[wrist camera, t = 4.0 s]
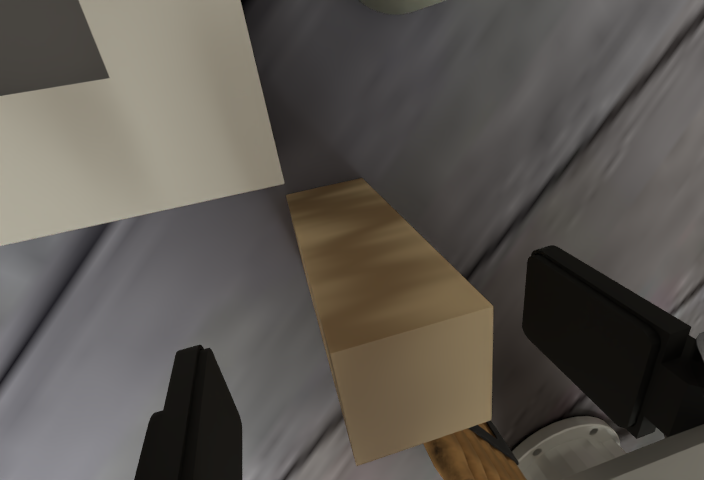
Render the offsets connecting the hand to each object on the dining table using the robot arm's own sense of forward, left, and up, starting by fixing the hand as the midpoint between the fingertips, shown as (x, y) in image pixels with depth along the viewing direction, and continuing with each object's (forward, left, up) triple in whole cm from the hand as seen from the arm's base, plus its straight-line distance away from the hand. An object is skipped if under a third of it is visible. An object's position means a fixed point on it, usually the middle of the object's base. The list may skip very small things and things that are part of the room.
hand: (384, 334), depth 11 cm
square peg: (0, +1, -10) cm, 10 cm away
